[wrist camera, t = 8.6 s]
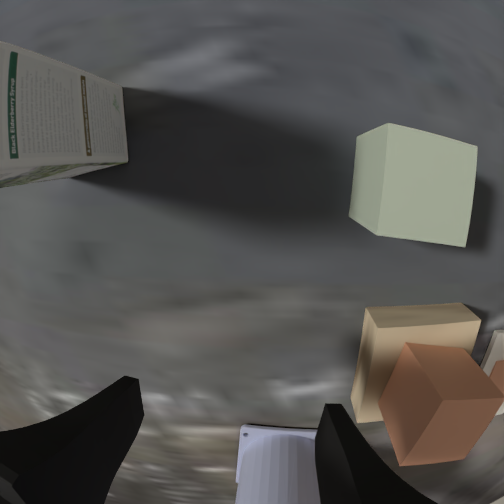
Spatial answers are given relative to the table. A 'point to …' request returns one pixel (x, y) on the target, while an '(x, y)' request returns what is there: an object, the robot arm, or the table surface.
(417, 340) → the birch block
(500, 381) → the card
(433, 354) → the terracotta block
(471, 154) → the sage green block
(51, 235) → the table surface
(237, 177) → the table surface
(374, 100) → the table surface
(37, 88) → the syrup box
